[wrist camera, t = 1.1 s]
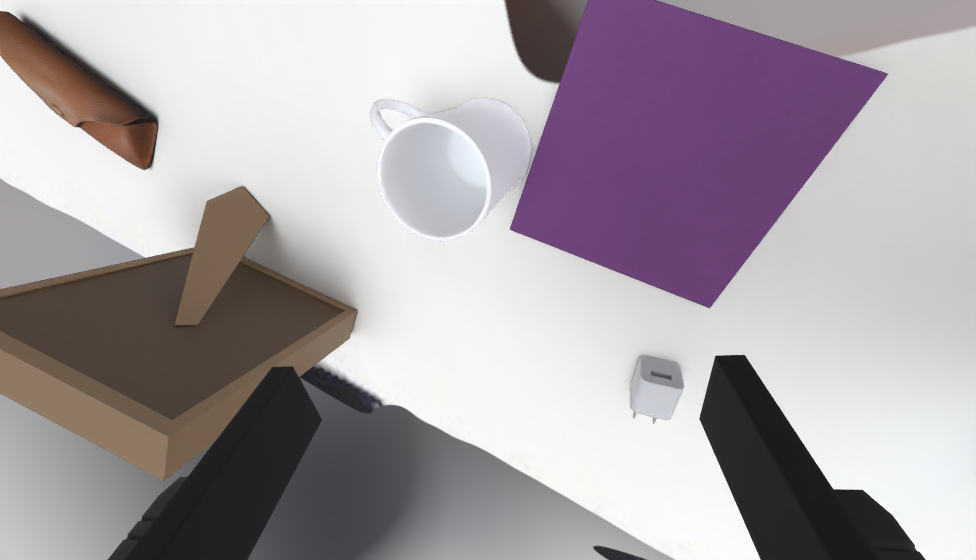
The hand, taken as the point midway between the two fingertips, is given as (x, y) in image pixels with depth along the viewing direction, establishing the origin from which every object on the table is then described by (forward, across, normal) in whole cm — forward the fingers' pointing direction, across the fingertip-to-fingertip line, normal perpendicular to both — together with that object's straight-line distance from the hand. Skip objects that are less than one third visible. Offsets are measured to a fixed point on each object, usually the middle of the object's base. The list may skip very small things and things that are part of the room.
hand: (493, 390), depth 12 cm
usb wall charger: (+22, -13, +24) cm, 35 cm away
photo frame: (+32, +30, +11) cm, 45 cm away
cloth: (+24, -12, +1) cm, 27 cm away
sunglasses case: (+37, +50, -9) cm, 63 cm away
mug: (+28, +4, -2) cm, 28 cm away
